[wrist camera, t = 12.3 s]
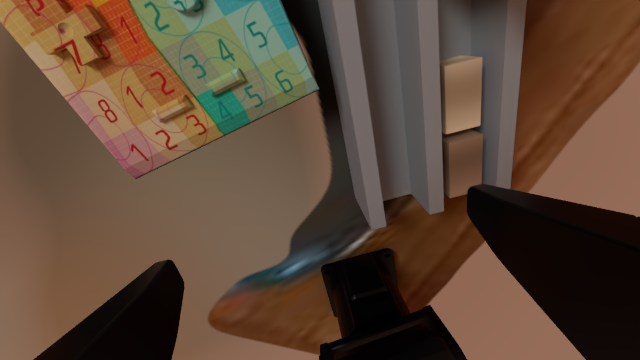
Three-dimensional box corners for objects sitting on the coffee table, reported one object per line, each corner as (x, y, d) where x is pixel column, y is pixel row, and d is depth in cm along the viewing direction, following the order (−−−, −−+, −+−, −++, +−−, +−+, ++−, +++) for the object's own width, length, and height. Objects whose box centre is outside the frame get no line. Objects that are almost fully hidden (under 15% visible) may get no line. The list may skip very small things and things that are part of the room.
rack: (474, 166, 23) (515, 192, 19) (355, 197, 23) (371, 230, 19) (486, -318, 13) (582, -483, 9) (266, -269, 13) (261, -416, 9)
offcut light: (460, 117, 20) (480, 125, 18) (429, 125, 20) (446, 134, 18) (460, 55, 18) (482, 56, 16) (426, 64, 18) (444, 66, 16)
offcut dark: (460, 175, 22) (481, 190, 20) (432, 182, 22) (449, 198, 20) (460, 124, 20) (483, 134, 18) (429, 132, 20) (448, 143, 18)
